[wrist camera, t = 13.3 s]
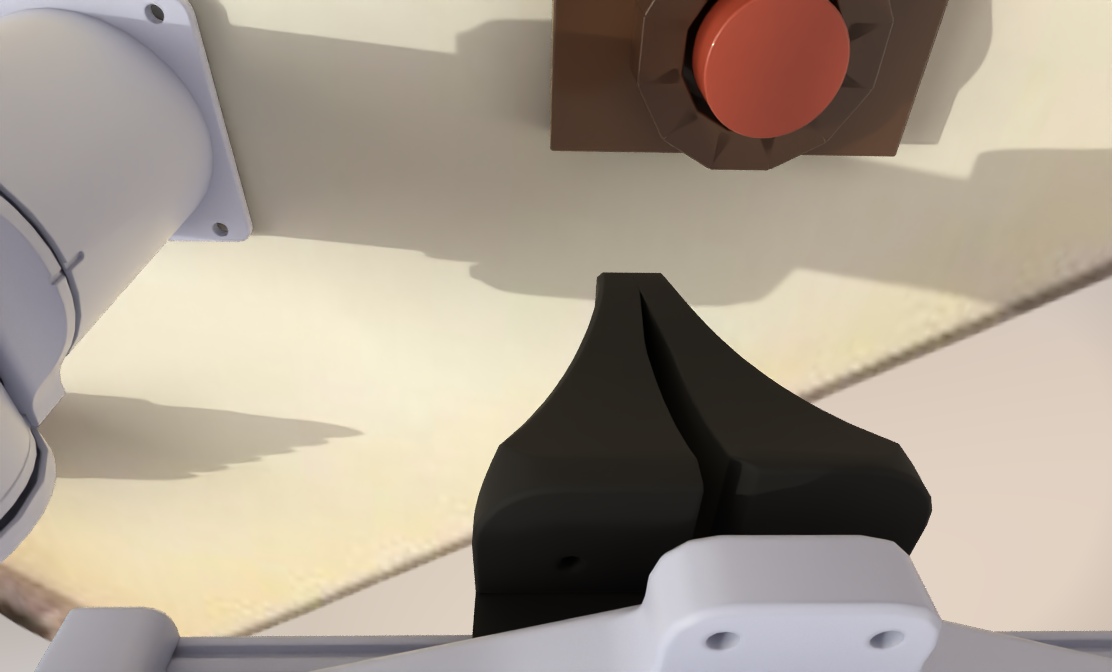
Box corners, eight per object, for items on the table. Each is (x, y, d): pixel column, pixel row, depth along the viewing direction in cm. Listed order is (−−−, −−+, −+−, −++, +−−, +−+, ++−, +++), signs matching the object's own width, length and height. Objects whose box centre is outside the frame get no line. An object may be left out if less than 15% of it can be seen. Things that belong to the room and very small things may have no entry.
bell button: (682, 115, 19) (693, 137, 18) (702, -27, 17) (716, -14, 16) (808, 117, 19) (828, 140, 18) (843, -24, 17) (870, -10, 16)
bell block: (549, 131, 23) (551, 175, 20) (554, -122, 18) (557, -111, 16) (874, 137, 23) (921, 181, 20) (953, -110, 19) (1025, -97, 16)
